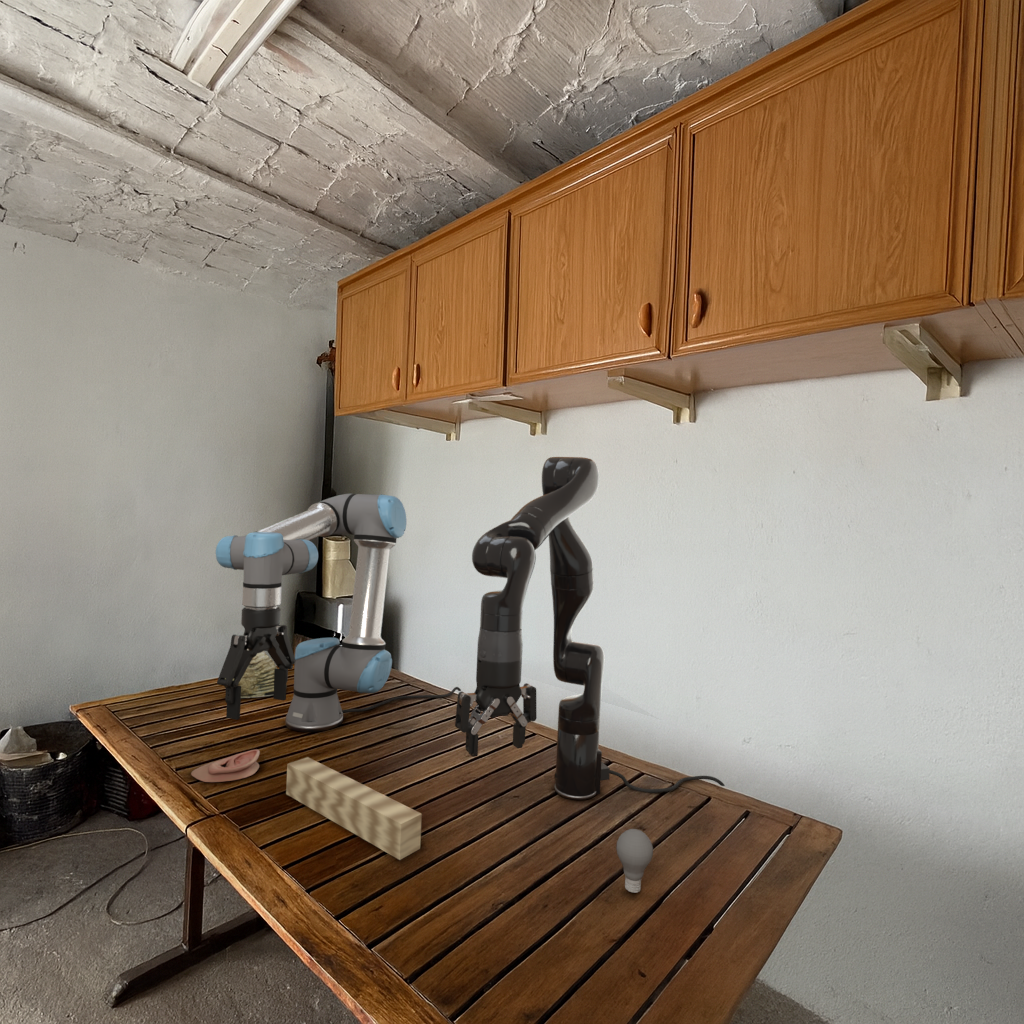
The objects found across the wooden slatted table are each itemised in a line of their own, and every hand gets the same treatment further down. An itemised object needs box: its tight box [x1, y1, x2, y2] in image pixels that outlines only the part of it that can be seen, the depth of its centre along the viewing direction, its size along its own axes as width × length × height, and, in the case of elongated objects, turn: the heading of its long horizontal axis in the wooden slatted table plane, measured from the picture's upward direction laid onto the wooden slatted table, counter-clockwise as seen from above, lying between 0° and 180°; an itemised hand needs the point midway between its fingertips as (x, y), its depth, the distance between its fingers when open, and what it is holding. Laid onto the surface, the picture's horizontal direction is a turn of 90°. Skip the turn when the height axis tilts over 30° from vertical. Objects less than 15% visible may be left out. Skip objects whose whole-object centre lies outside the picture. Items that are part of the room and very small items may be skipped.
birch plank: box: [285, 756, 423, 861], centre depth 125 cm, size 36×5×6 cm, turn 51°
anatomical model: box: [190, 748, 261, 783], centre depth 143 cm, size 13×4×12 cm
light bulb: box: [615, 828, 654, 894], centre depth 106 cm, size 6×6×10 cm
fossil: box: [223, 649, 288, 699], centre depth 198 cm, size 9×18×15 cm, turn 132°
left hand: (257, 708), depth 132 cm, fingers open, 13 cm apart
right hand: (495, 750), depth 106 cm, fingers open, 8 cm apart
